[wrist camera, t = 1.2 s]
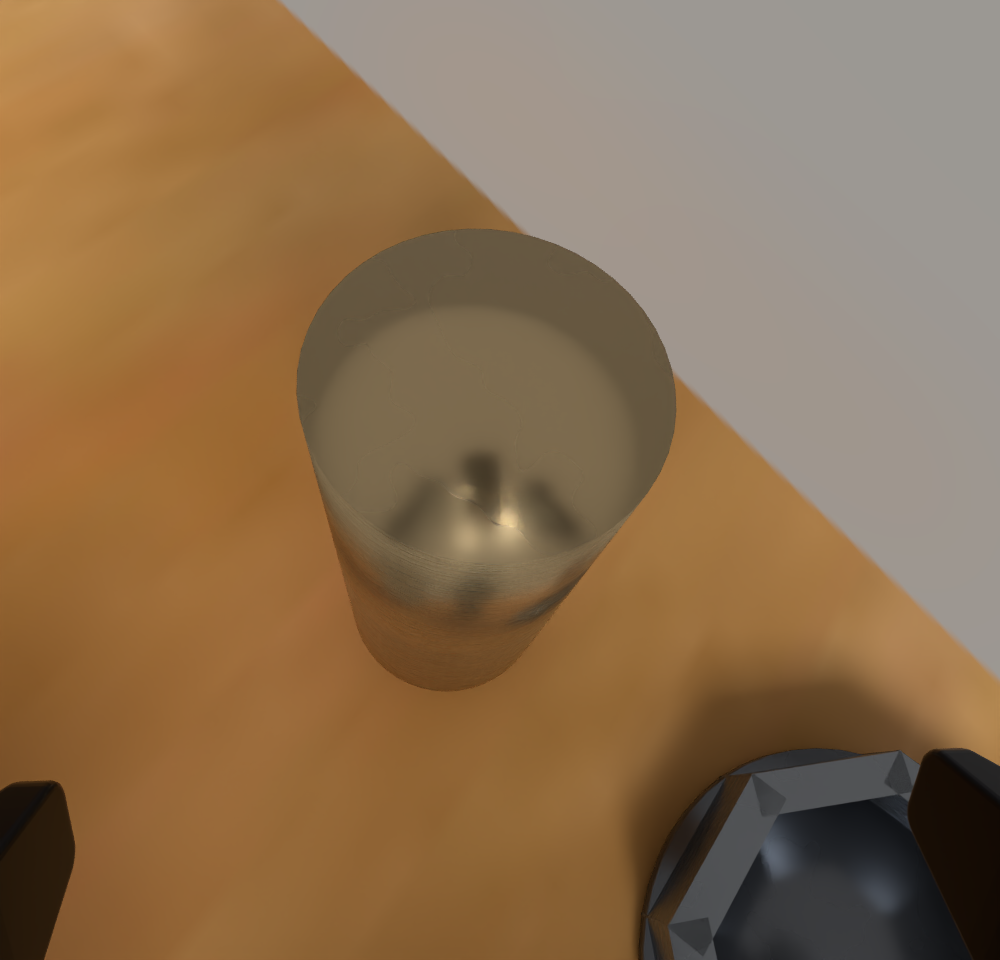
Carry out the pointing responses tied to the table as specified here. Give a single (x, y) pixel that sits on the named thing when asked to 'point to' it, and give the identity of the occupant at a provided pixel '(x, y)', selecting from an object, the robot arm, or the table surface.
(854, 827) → the ring collar
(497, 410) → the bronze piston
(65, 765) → the table surface
